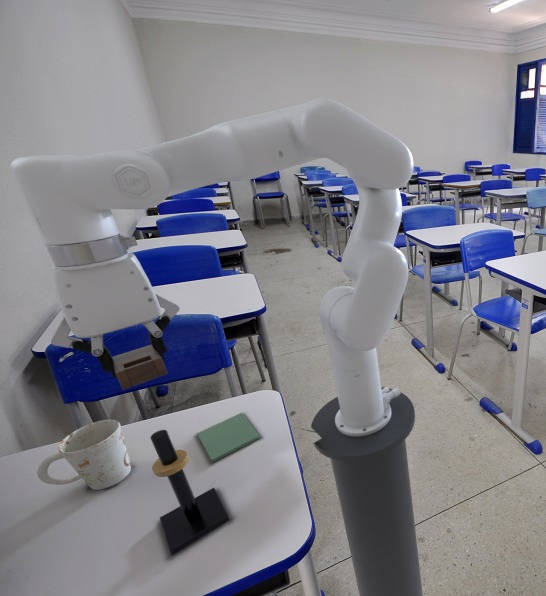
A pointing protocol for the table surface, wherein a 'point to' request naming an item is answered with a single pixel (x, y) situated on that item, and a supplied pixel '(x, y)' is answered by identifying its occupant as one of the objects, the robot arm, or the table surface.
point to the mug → (92, 456)
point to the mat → (227, 436)
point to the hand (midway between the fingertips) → (138, 364)
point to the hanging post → (184, 498)
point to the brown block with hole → (138, 366)
